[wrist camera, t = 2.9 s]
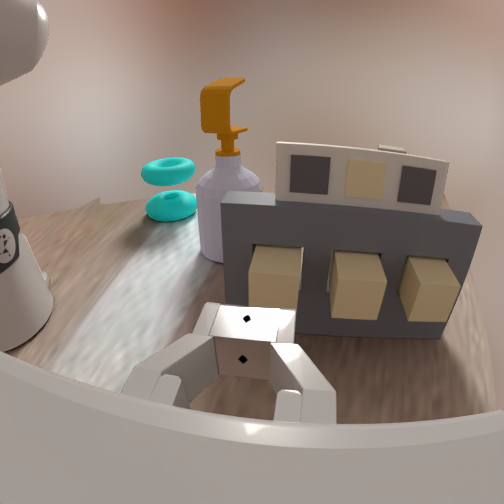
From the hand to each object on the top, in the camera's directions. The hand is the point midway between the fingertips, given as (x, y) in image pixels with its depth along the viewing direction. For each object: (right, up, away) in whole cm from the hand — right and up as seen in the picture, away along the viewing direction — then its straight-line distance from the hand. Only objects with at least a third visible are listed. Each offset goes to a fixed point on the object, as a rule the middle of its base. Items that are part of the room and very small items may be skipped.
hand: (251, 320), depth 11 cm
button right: (+16, -2, +17) cm, 24 cm away
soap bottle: (-3, +3, +38) cm, 38 cm away
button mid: (+9, -2, +18) cm, 21 cm away
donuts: (-15, +10, +50) cm, 53 cm away
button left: (+2, -1, +19) cm, 19 cm away
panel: (+9, -6, +23) cm, 26 cm away
